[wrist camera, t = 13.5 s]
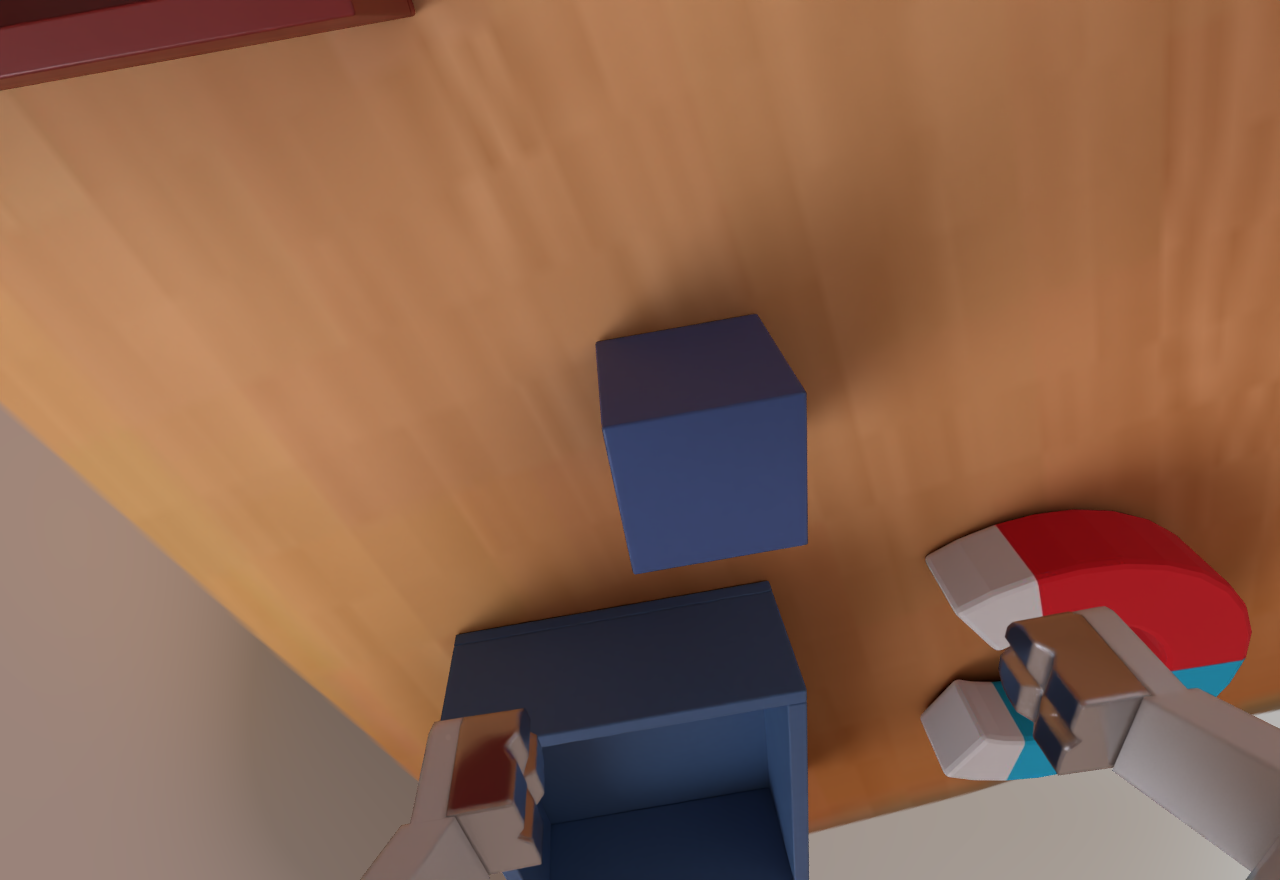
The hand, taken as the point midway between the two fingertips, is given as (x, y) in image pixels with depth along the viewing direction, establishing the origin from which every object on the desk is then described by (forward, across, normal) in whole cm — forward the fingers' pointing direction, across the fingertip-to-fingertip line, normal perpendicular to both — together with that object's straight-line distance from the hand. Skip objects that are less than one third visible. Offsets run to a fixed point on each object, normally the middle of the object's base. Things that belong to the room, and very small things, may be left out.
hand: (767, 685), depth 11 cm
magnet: (+8, -18, +12) cm, 23 cm away
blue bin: (+10, +4, +14) cm, 17 cm away
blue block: (+9, 0, 0) cm, 9 cm away
